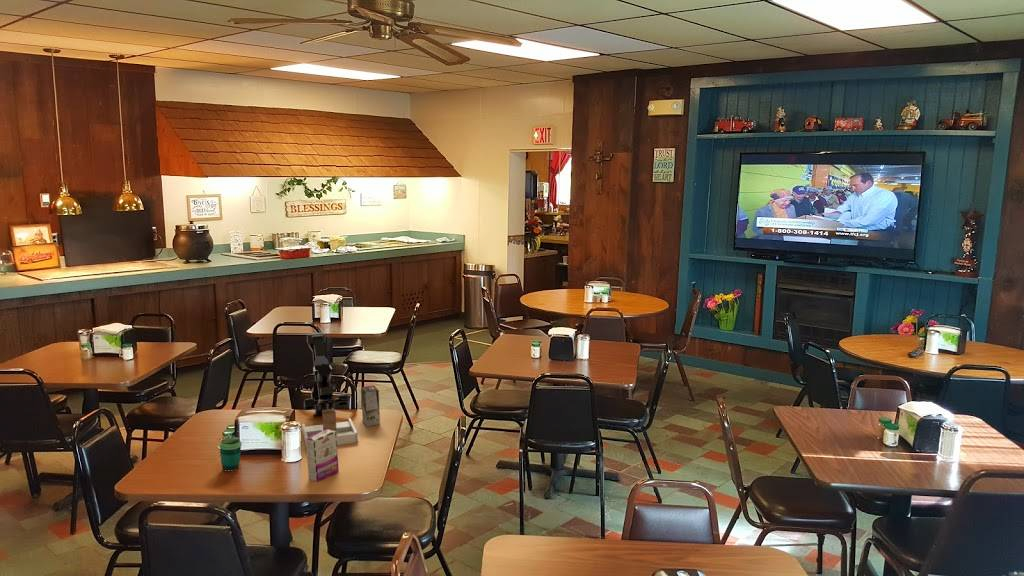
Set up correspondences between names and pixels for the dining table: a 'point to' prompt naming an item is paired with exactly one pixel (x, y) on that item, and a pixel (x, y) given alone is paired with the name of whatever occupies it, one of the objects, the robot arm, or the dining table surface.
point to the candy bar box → (322, 455)
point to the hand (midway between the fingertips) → (328, 419)
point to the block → (329, 419)
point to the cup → (230, 453)
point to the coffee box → (370, 405)
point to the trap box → (344, 430)
